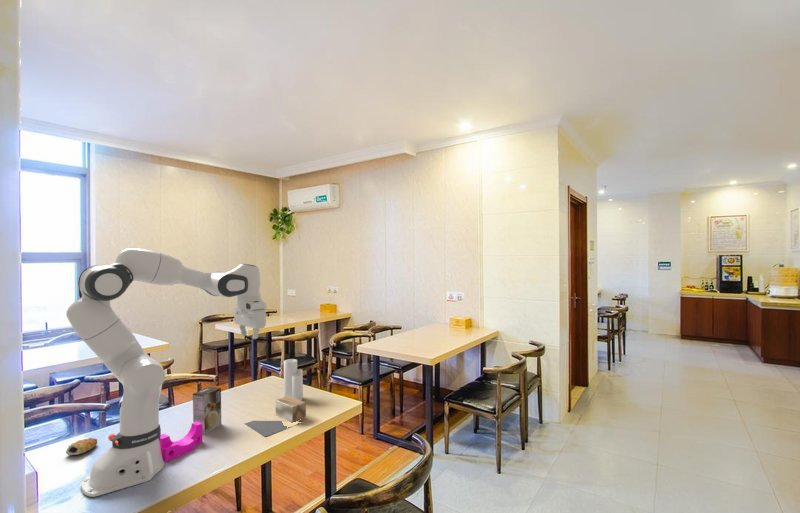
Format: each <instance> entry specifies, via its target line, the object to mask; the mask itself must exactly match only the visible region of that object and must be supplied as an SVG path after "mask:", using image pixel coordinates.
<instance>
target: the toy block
mask: <svg viewBox="0 0 800 513" xmlns="http://www.w3.org/2000/svg"><path fill="white" fill-rule="evenodd" d="M170 437H171V436H170V435H168V434H166V433H163V434H161V437H160V449H161V454H162V458H163V461H164V463H166V462H168V461H171V460H173V459H176V458H179V457H181V456H183V455H185V454H187V453H189V452H191V451H194V450H195V447H196V446H198V445H199V444H202V443H203V433H202V423H200V422H194V423H193V422H192V423H191V425H190V429H189V431H188V433H186V435H185V436H184V437H182V438H180V439H179V440H176V441H175V440H174V441H173V440H172V439H171V438H170Z"/></svg>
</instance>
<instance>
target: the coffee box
mask: <svg viewBox="0 0 800 513" xmlns="http://www.w3.org/2000/svg"><path fill="white" fill-rule="evenodd" d="M221 389H222V387H214V386H208V387H206V388H203V389H201V390H199V391H196V392H194V393H192V420H193V422H192V423H194V422H200V423H202V435H203V434H204V435H205V434H207V433H209V432H211V431H213V430H214V429H216V428H218V427H219V426H221V425H222V390H221Z"/></svg>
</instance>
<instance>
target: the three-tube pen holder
mask: <svg viewBox="0 0 800 513" xmlns="http://www.w3.org/2000/svg"><path fill="white" fill-rule="evenodd" d="M303 375H304V374H303V368H299V369H298V359H295V358H289V359H285V360H283V398H284V397H287V396H291V397H293V398H296V399H298V400H301V401H303V399H302V398H304V391H303V390H304V387H303V386H304V385H303V384H304V382H303V379H304V378H303Z"/></svg>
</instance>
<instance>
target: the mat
mask: <svg viewBox="0 0 800 513" xmlns="http://www.w3.org/2000/svg"><path fill="white" fill-rule="evenodd" d="M282 421H283V420H251V421H248V422H245V423H244V425H245V426H247V427H249V428H250V429H251V430H253V431H255V432H257V433H258V434H260V435H261V436H262V437H264V438H268V437H270V436H272V435H275V434H277V433H280V432H282V431H285V430H288V429H290V428H289V427H288V429H287V426H284V425H283V423H282Z"/></svg>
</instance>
